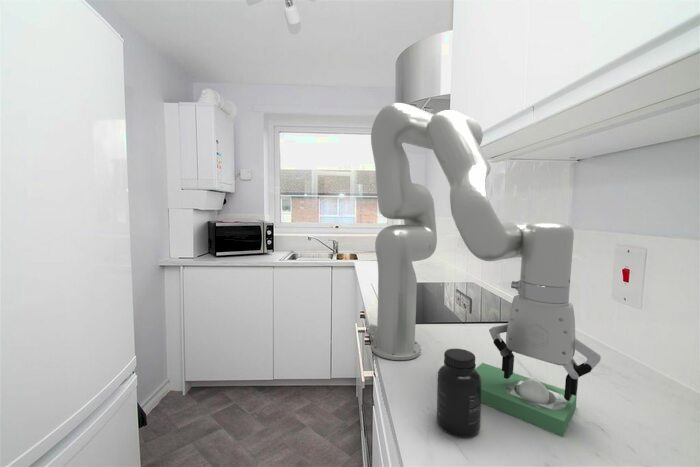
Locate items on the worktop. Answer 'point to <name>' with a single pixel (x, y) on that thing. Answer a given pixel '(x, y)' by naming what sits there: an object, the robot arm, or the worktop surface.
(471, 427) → the supplement bottle
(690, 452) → the worktop surface
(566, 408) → the green flat slab
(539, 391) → the ball
